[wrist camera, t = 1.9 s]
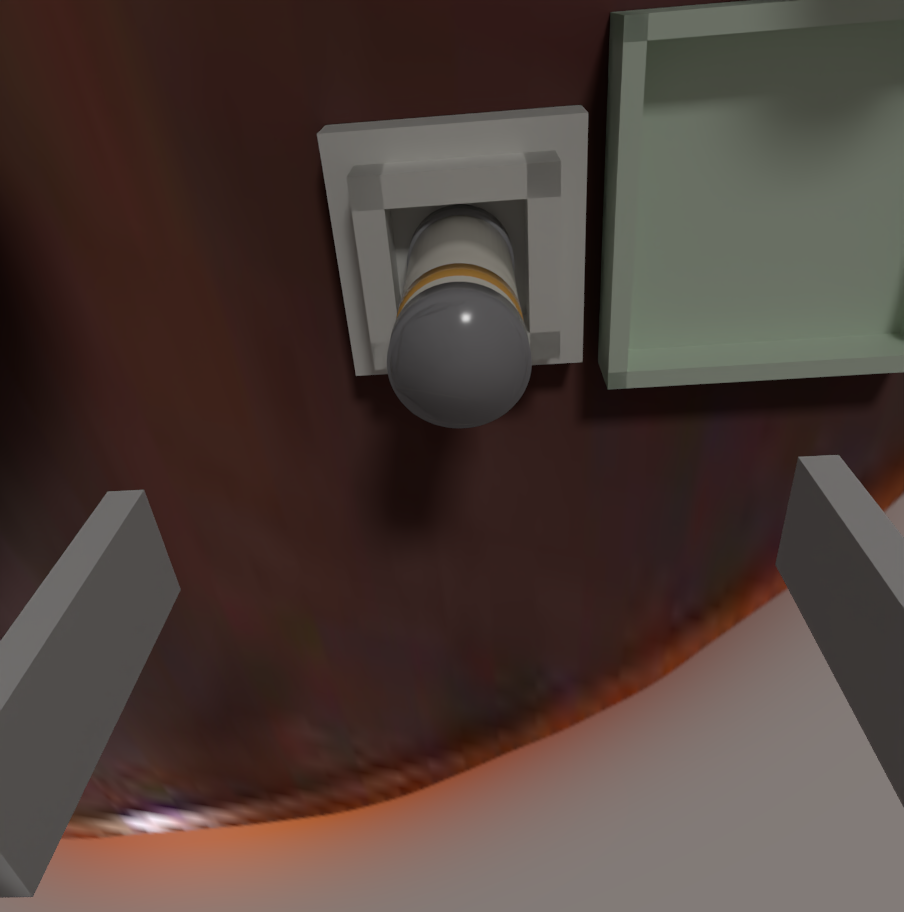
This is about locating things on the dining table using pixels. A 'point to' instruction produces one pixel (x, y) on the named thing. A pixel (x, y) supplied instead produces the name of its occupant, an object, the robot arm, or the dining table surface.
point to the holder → (461, 182)
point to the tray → (753, 193)
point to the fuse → (459, 322)
